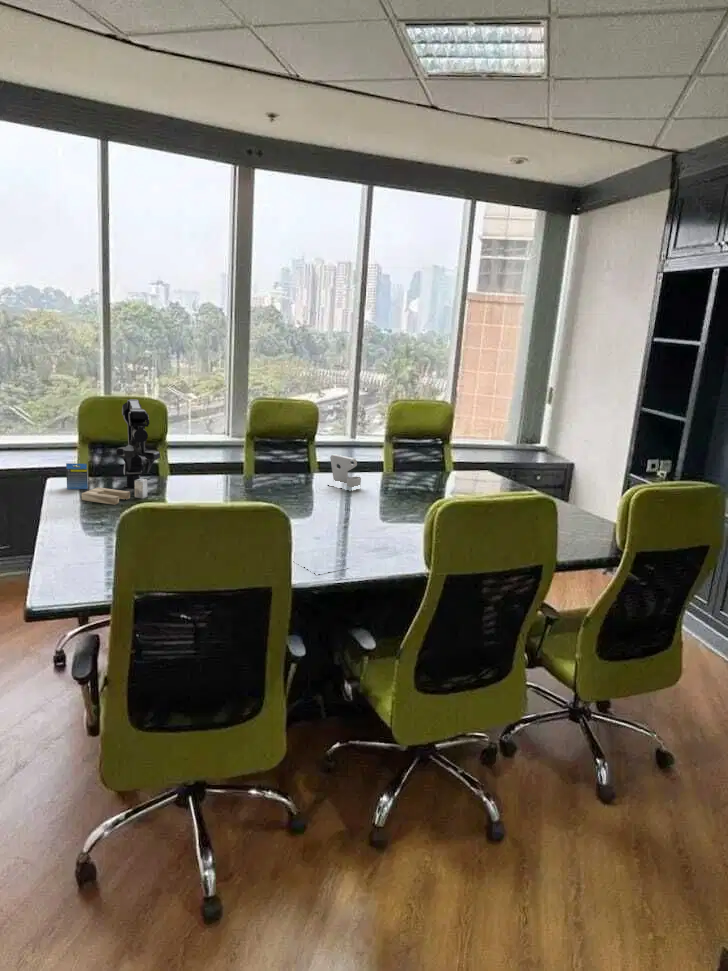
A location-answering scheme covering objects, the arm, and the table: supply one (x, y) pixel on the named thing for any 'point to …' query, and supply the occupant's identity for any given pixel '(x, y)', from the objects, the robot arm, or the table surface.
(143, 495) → the grey peg
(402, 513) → the table surface
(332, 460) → the phone holder
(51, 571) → the table surface
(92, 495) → the notched board
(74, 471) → the label tape cartridge
